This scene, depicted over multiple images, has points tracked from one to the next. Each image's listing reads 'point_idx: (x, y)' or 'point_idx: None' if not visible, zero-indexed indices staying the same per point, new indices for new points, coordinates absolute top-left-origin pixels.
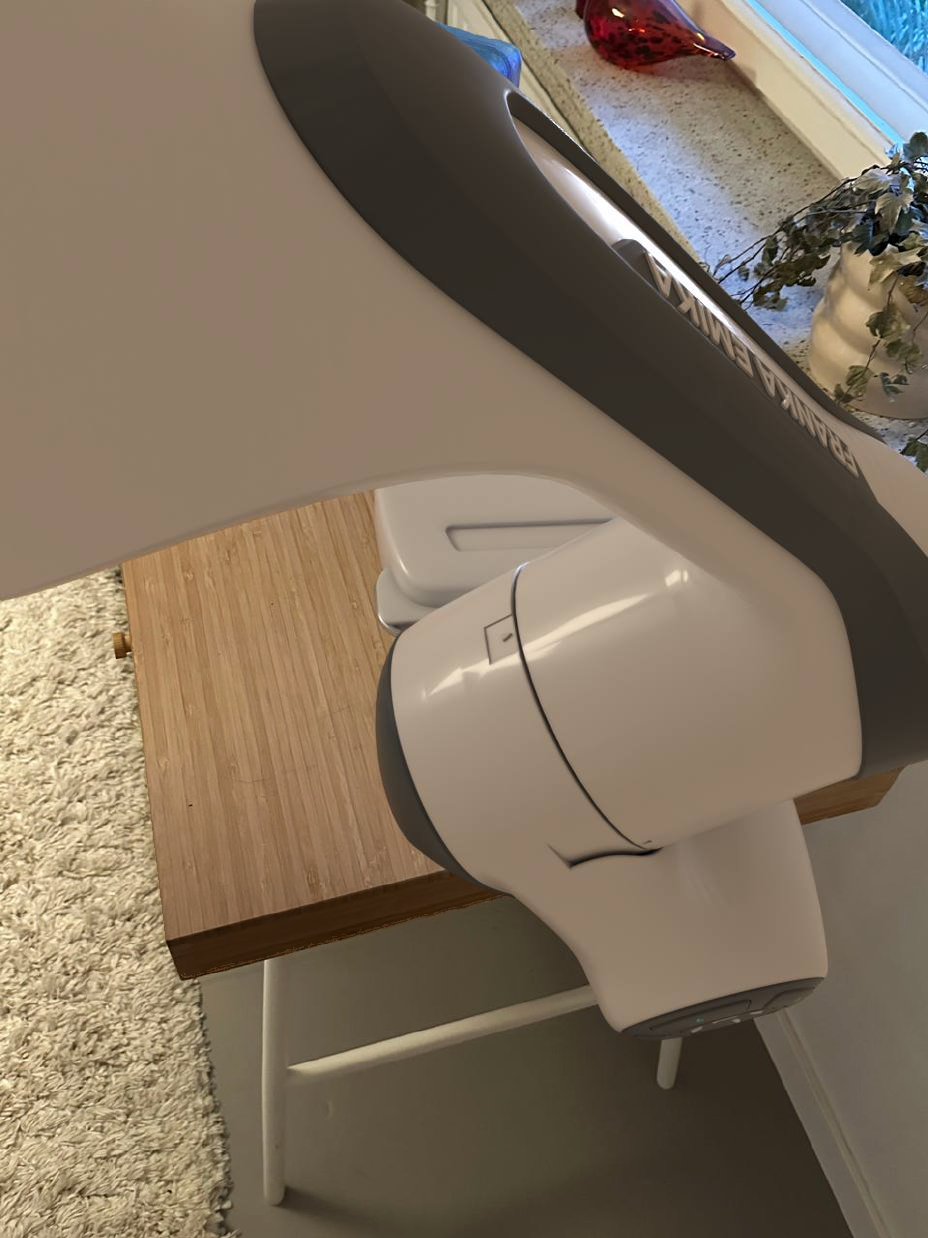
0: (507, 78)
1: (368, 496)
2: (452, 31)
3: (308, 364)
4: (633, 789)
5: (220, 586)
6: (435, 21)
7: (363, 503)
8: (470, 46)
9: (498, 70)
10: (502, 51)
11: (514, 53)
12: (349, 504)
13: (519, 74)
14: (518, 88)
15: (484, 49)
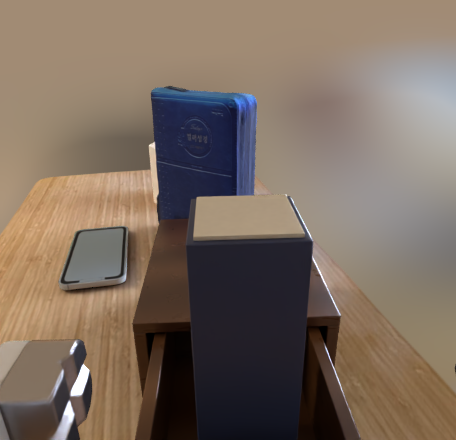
0: (246, 109)
1: (107, 426)
2: (212, 92)
3: None
4: None
5: None
6: (203, 91)
7: (99, 435)
8: (221, 94)
9: (239, 103)
10: (242, 95)
11: (251, 97)
12: (84, 436)
13: (255, 111)
14: (255, 120)
15: (230, 94)
